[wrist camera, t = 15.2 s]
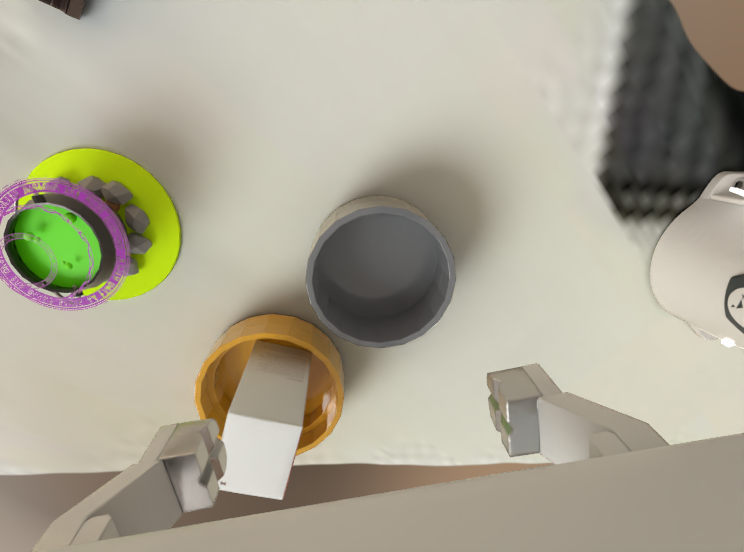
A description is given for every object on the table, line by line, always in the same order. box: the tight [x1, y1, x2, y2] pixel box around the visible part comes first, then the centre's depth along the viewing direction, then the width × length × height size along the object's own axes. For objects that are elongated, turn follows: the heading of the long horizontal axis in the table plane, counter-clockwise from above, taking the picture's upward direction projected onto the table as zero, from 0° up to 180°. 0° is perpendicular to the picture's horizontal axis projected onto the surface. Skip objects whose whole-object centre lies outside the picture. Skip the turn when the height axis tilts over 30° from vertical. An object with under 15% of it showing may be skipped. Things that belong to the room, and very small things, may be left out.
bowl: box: [195, 314, 344, 455], centre depth 48 cm, size 15×15×5 cm
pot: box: [306, 196, 456, 348], centre depth 44 cm, size 14×14×6 cm
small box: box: [218, 340, 312, 500], centre depth 44 cm, size 8×6×13 cm
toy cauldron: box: [0, 148, 181, 310], centre depth 39 cm, size 15×15×11 cm
